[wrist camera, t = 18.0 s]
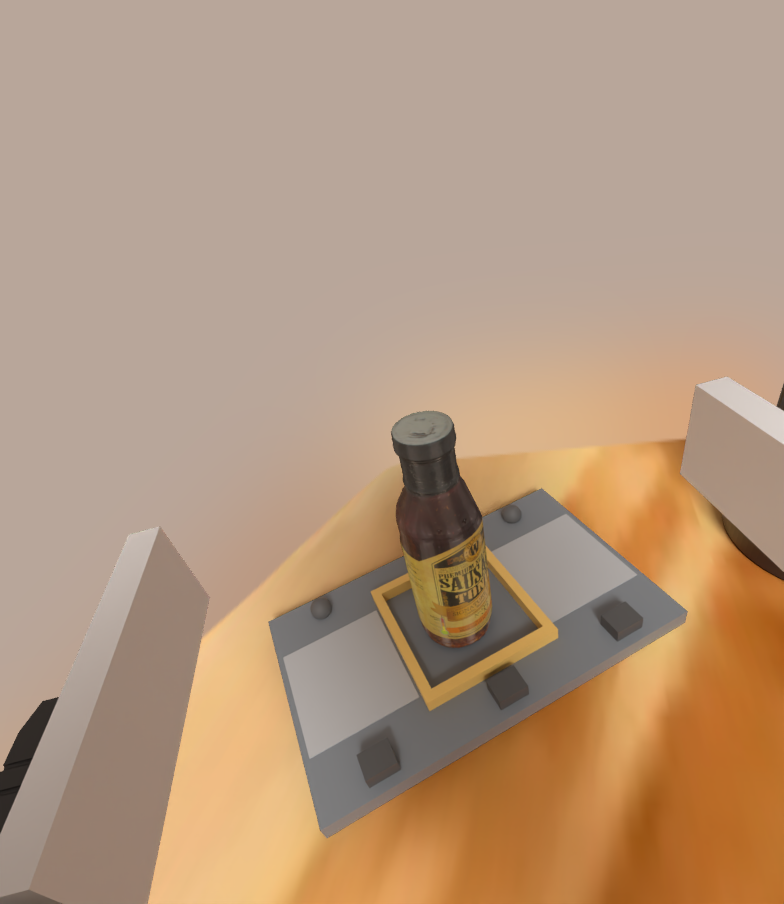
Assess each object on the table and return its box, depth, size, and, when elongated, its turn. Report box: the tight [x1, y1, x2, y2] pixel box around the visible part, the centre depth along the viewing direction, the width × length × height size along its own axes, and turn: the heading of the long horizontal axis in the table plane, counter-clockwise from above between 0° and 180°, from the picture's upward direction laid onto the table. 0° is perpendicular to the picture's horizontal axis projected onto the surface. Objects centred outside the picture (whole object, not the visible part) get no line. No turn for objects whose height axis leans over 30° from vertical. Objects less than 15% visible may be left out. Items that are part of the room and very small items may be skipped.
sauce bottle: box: [391, 411, 492, 648], centre depth 36 cm, size 6×6×20 cm
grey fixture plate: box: [269, 488, 687, 838], centre depth 42 cm, size 31×18×3 cm, turn 114°
